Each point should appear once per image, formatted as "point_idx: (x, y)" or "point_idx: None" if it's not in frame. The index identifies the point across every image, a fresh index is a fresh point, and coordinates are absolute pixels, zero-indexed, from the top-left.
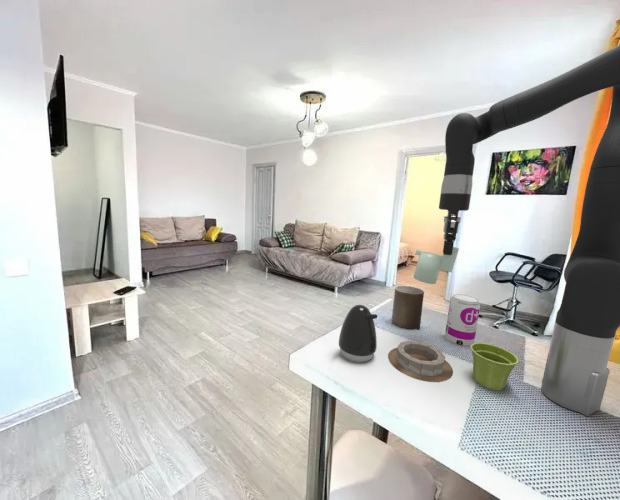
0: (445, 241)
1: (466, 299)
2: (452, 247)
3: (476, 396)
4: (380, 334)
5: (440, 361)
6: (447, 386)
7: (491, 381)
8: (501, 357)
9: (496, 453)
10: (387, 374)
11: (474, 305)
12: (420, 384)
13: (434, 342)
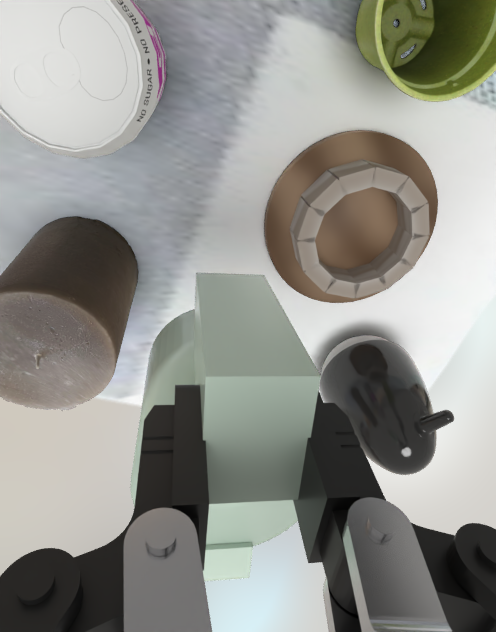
0: (319, 557)
1: (85, 65)
2: (334, 442)
3: None
4: None
5: (405, 184)
6: (422, 151)
7: (455, 29)
8: None
9: None
10: (404, 289)
11: (135, 19)
12: None
13: (165, 165)
